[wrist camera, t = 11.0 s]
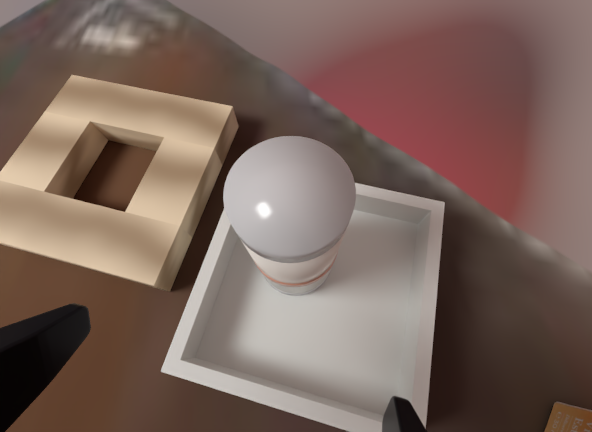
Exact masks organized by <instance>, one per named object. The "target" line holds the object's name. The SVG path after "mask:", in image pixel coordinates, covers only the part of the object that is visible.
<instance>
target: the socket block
mask: <svg viewBox="0 0 592 432" xmlns="http://www.w3.org/2000/svg"><path fill="white" fill-rule="evenodd" d="M238 127H239V126H238V123H237V119H236V116H235V113H234V109H233V106H228V105H223V104H218V103H213V102H207V101H202V100H197V99H192V98H187V97H182V96H177V95H172V94H167V93H162V92H156V91H151V90H146V89H141V88H136V87H131V86H126V85H121V84H116V83H111V82H105V81H100V80H95V79H90V78H85V77H80V76H75V75H72V76H71V77H70V78H69V80H68V81H67V82H66V84H65V85H64V86H63V88H62V89H61V90H60V92H59V93H58V95H57V96H56V97H55V99H54V100H53V101H52V103H51V104H50V105H49V107H48V108H47V109H46V111H45V112H44V114H43V115H42V116H41V118H40V119H39V120H38V122H37V123H36V124H35V126H34V127H33V128H32V130H31V131H30V133H29V134H28V135H27V137H26V138H25V139H24V141H23V142H22V143H21V145H20V146H19V147H18V149H17V150H16V152H15V153H14V154H13V156H12V157H11V158H10V160H9V161H8V162H7V164H6V165H5V166H4V168H3V169H2V170H1V172H0V244H2V245H5V246H9V247H12V248H16V249H20V250H23V251H27V252H30V253H34V254H37V255H41V256H44V257H48V258H51V259H55V260H59V261H62V262H66V263H69V264H73V265H76V266H80V267H83V268H87V269H90V270H94V271H98V272H101V273H105V274H108V275H112V276H115V277H119V278H122V279H126V280H129V281H133V282H137V283H140V284H144V285H147V286H151V287H154V288H158V289H161V290H165V291H169V292H170V290H171V288H172V285H173V283H174V281H175V278H176V276H177V273H178V271H179V269H180V266H181V264H182V261H183V259H184V257H185V254H186V252H187V249H188V247H189V245H190V242H191V240H192V237H193V235H194V233H195V230H196V228H197V225H198V223H199V221H200V218H201V216H202V213H203V211H204V209H205V206H206V204H207V201H208V199H209V197H210V194H211V192H212V189H213V187H214V185H215V182H216V180H217V177H218V175H219V173H220V170H221V168H222V165H223V163H224V161H225V158H226V156H227V153H228V151H229V149H230V146H231V144H232V141H233V139H234V137H235V134H236V132H237V130H238ZM108 140H109V141H114V142H118V143H123V144H127V145H132V146H136V147H141V148H145V149H150V150H154V151H157V152H156V154H155V156H154V158H153V160H152V162H151V164H150V165H149V167H148V169H147V171H146V173H145V175H144V177H143V179H142V181H141V183H140V185H139V186H138V188H137V190H136V192H135V194H134V196H133V198H132V200H131V202H130V204H129V206H128V207H127V209H126V211H125V212H123V211H119V210H115V209H111V208H107V207H103V206H99V205H95V204H91V203H87V202H83V201H79V200H75V199H73V198H74V196H75V194H76V193H77V191H78V189H79V188H80V186H81V184H82V183H83V181H84V180H85V178H86V176H87V175H88V173H89V171H90V170H91V168H92V166H93V165H94V163H95V161H96V160H97V158H98V157H99V155H100V153H101V152H102V150H103V148H104V147H105V145H106V143H107V142H108Z"/></svg>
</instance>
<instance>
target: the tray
mask: <svg viewBox="0 0 592 432" xmlns="http://www.w3.org/2000/svg"><path fill="white" fill-rule="evenodd" d="M355 187H356V201H355V207H354V210H353V214H352V216H351V219H350V221H349V224H348V227H347V229H346V232H345V234H344V237H343V240H342V242H341V245H340V247H339V250H338V253H337V256H336V259H335V261H334V263H333V266H332V268H331V271H330V273H329V276H328V278H327V279H326V281H325V282H324V283H323V284H322V285H321V286H320V287H319V288H318V289H317V290H315V291H313V292H311V293H309V294H306V295H302V296H290V295H286V294H283V293H281V292H279V291H277V290H275V289H274V288H273V287H272V286H271V285H270V284H269V283H268V282H267V281H266V279H265V277H264V276H263V274H262V273H261V271H260V270H259V269H258V267H257V265H256V264H255V262H254V260H253V258H252V257H251V255H250V254H249V252H248V250H247V249H246V247H245V246H244V244H243V242H242V241H241V239H240V238H239V236H238V235H237V233H236V231H235V230H234V228H233V227H232V225H231V223H230V222H229V220H228V217H227V215H226V212H225V208H224V210H223V213H222V215H221V218H220V220H219V223H218V225H217V228H216V231H215V233H214V236H213V238H212V241H211V243H210V246H209V248H208V251H207V254H206V256H205V259H204V261H203V264H202V266H201V269H200V272H199V274H198V277H197V279H196V282H195V284H194V287H193V290H192V292H191V295H190V297H189V300H188V302H187V305H186V308H185V310H184V313H183V315H182V318H181V320H180V323H179V325H178V328H177V331H176V333H175V336H174V338H173V341H172V343H171V346H170V349H169V351H168V354H167V356H166V359H165V361H164V364H163V367H162V369H161V372H164V373H167V374H170V375H173V376H176V377H180V378H183V379H186V380H189V381H192V382H195V383H198V384H202V385H205V386H208V387H211V388H214V389H217V390H221V391H224V392H227V393H230V394H233V395H236V396H239V397H243V398H246V399H249V400H252V401H255V402H258V403H261V404H265V405H268V406H271V407H274V408H277V409H280V410H283V411H287V412H290V413H293V414H296V415H299V416H302V417H306V418H309V419H312V420H315V421H318V422H321V423H324V424H328V425H331V426H334V427H337V428H340V429H343V430H346V431H350V432H382V421H383V416H384V413H385V411H386V408H387V406H388V404H389V401H390V399H391V397H392V396H398V397H401V398H405V399H407V400H409V402H410V403H411V404H412V406H413V408H414V410H415V411H416V413H417V415H418V416H419V418H420V420H421V422H422V423H423V425H424V427H425V429H426V419H427V407H428V395H429V383H430V371H431V360H432V348H433V336H434V324H435V312H436V300H437V288H438V277H439V265H440V253H441V241H442V229H443V217H444V206H445V202H441V201H436V200H432V199H427V198H422V197H418V196H413V195H409V194H404V193H399V192H395V191H390V190H386V189H381V188H376V187H372V186H367V185H363V184H358V183H355Z"/></svg>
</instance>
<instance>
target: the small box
mask: <svg viewBox="0 0 592 432" xmlns="http://www.w3.org/2000/svg"><path fill="white" fill-rule="evenodd" d="M544 432H592V410H588V409H584V408H580V407H576V406H572V405H568V404H565V403H561V402H555V403H554V405H553V408H552V411H551V414H550V417H549V420H548V423H547V426H546V429H545V431H544Z"/></svg>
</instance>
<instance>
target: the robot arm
mask: <svg viewBox="0 0 592 432" xmlns="http://www.w3.org/2000/svg"><path fill="white" fill-rule="evenodd" d="M90 328H91V325H90V318H89V311H88V308H87V307H86V306H83V305H79V304H76V303H72V304H68V305H66V306H63V307H60V308H57V309H54V310H51V311H48V312H45V313H42V314H40V315H37V316H34V317H31V318H28V319H25V320H22V321H19V322H16V323H14V324H11V325H8V326H5V327H2V328H0V432H5V431H6V430H7V429H8V428H9V427H10V426H11V425H12V424H13V423H14V422H15V420H16V419H17V418H18V417H19V416H20V415H21V414H22V413H23V412H24V411H25V410H26V409H27V408H28V407H29V405H30V404H31V403H32V402H33V401H34V400H35V399H36V398H37V397H38V396H39V395H40V394H41V392H42V391H43V390H44V389H45V388H46V387H47V386H48V385H49V383H50V382H51V381H52V380H53V379H54V377H55V376H56V375H57V374H58V372H59V371H60V370H61V369H62V367H63V366H64V365H65V364H66V362H67V361H68V360H69V359H70V357H71V356H72V355H73V353H74V352H75V351H76V350H77V348H78V347H79V346H80V345H81V343H82V342H83V341H84V340H85V338H86V337H87V336H88V334H89V332H90ZM382 432H427V430H426V429H425V427H424V425H423V423H422V422H421V420H420V418H419V416H418V415H417V413H416V411H415V410H414V408H413V406H412V404H411V403H410V402H409V400H407V399H405V398H401V397H398V396H392V397H391V399H390V401H389V404H388V406H387V408H386V411H385V413H384V416H383V421H382Z"/></svg>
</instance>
